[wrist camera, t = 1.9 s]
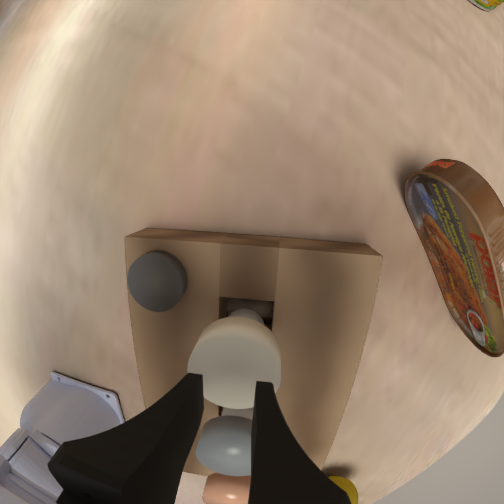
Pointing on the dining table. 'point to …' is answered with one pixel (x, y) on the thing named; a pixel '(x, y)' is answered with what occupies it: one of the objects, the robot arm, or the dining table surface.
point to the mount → (283, 324)
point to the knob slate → (227, 442)
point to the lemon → (346, 487)
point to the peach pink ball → (226, 489)
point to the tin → (463, 246)
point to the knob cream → (236, 359)
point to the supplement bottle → (487, 4)
